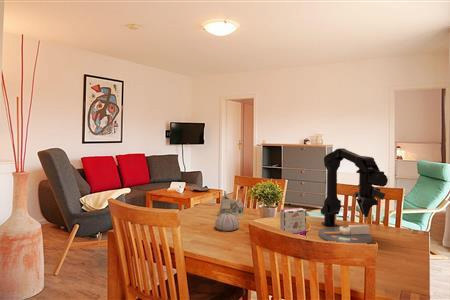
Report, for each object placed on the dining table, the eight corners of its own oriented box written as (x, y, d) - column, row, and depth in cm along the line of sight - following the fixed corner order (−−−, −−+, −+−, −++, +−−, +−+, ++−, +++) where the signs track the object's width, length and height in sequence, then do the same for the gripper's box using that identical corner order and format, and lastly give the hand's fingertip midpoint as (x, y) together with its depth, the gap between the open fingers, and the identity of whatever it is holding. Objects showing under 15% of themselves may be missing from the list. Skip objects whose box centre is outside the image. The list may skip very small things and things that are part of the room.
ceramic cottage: (214, 216, 190) (216, 192, 190) (222, 211, 206) (224, 189, 205) (239, 220, 186) (241, 195, 185) (245, 214, 202) (247, 191, 201)
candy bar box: (300, 241, 148) (301, 207, 147) (306, 245, 143) (307, 210, 142) (279, 243, 145) (279, 209, 144) (284, 247, 140) (284, 211, 139)
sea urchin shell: (235, 233, 160) (235, 218, 159) (210, 230, 164) (210, 215, 164) (242, 226, 172) (242, 211, 172) (219, 223, 176) (219, 210, 176)
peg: (326, 235, 151) (326, 228, 151) (322, 232, 156) (322, 225, 156) (370, 234, 153) (370, 226, 153) (365, 231, 158) (365, 224, 158)
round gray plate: (311, 229, 166) (311, 226, 166) (355, 228, 168) (355, 225, 168) (331, 246, 141) (331, 243, 141) (383, 245, 143) (383, 241, 143)
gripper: (390, 187, 137) (389, 222, 138) (377, 180, 156) (376, 211, 156) (364, 186, 139) (363, 220, 140) (354, 180, 157) (353, 210, 158)
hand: (364, 215), depth 149 cm, fingers open, 4 cm apart
